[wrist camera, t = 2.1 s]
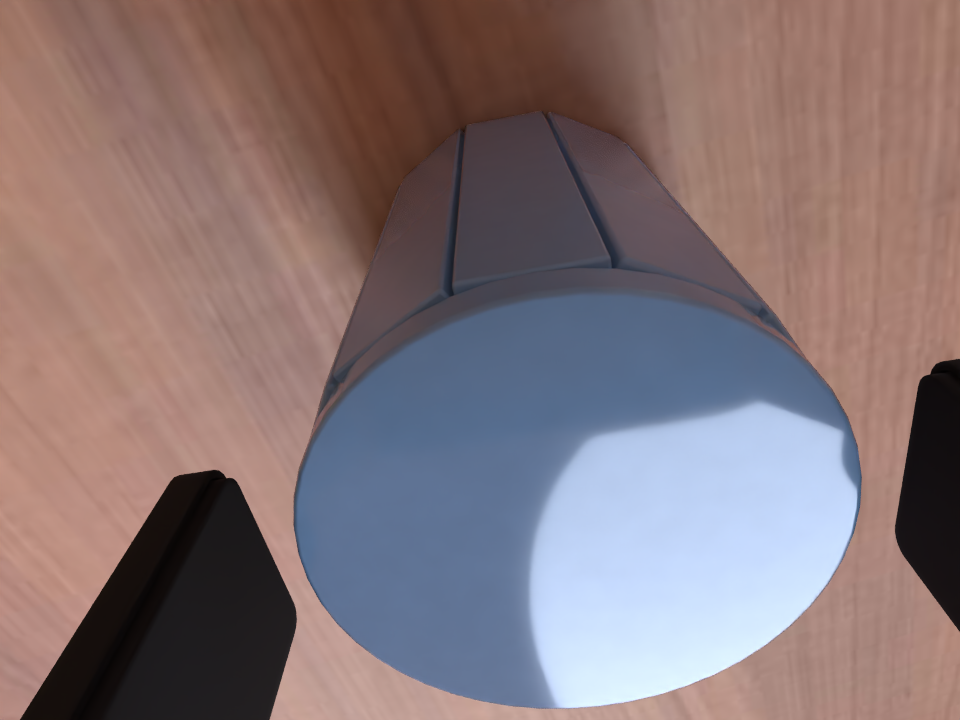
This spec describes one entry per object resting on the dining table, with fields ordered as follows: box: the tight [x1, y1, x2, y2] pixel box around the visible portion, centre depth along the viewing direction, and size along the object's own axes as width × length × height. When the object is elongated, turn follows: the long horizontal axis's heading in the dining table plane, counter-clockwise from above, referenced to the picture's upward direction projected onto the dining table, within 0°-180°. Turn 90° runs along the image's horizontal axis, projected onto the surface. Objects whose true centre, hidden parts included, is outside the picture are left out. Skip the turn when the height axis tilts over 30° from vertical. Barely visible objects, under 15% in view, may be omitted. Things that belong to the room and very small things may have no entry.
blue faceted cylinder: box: [293, 111, 862, 709], centre depth 12 cm, size 7×7×9 cm
